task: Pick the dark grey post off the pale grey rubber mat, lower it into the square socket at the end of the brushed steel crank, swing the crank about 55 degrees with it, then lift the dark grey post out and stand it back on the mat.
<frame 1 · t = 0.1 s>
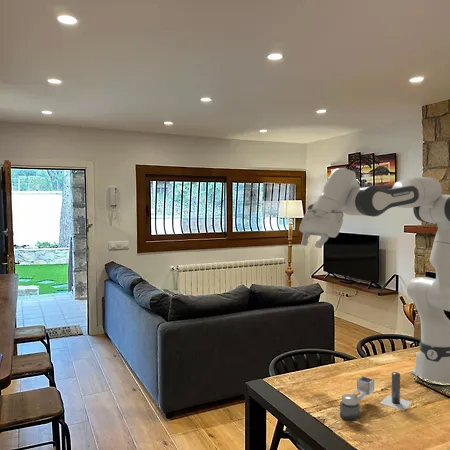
hand: (310, 246, 141), 54 cm above the table, tool tilted 30°, fingers open, 8 cm apart
dark grey post: (395, 402, 140), point 1 cm above the table, touching mat
crank: (357, 391, 137), point 6 cm above the table, hinge at 0.0°
mat: (395, 404, 140), on the table
crank post: (349, 416, 132), on the table
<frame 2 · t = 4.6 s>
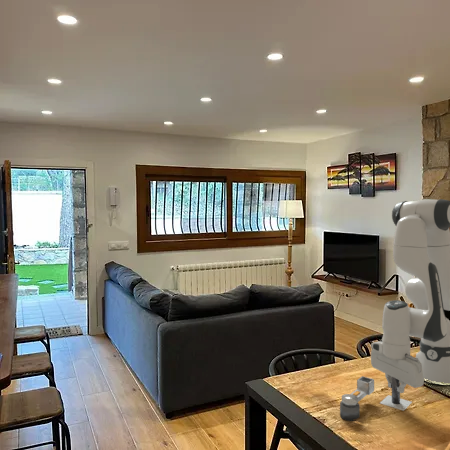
hand: (395, 389, 140), 5 cm above the table, tool pointing down, fingers closed on dark grey post, 3 cm apart
dark grey post: (395, 402, 140), point 1 cm above the table, touching gripper, mat
everything else where it was.
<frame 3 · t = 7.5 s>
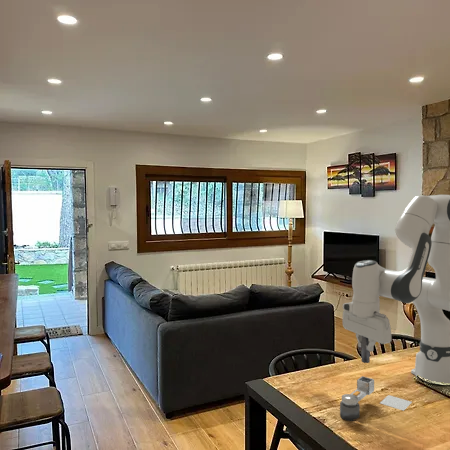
hand: (365, 348, 141), 19 cm above the table, tool pointing down, fingers closed on dark grey post, 3 cm apart
dark grey post: (365, 361, 141), point 14 cm above the table, touching gripper
everything else where it was.
when the fingers open (10 cm above the table, at t = 10.4 s): dark grey post moves 3 cm, resting on crank.
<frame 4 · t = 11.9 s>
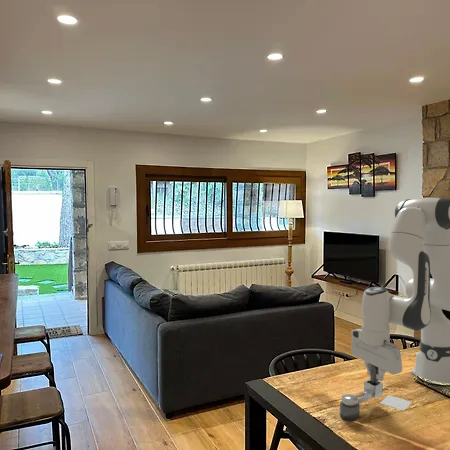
hand: (375, 377, 138), 10 cm above the table, tool pointing down, fingers open, 3 cm apart
dark grey post: (373, 390, 138), point 6 cm above the table, touching crank, gripper
crank: (361, 392, 135), point 6 cm above the table, hinge at 13.8°, touching dark grey post
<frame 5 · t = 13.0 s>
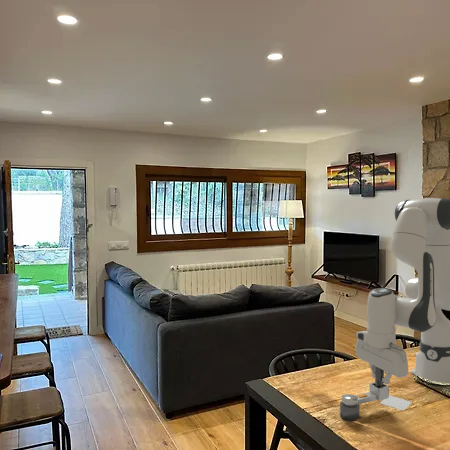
hand: (380, 380, 136), 10 cm above the table, tool pointing down, fingers open, 3 cm apart
dark grey post: (378, 392, 136), point 6 cm above the table, tilted 6°, touching crank, gripper
crank: (364, 394, 134), point 6 cm above the table, hinge at 25.2°, touching dark grey post
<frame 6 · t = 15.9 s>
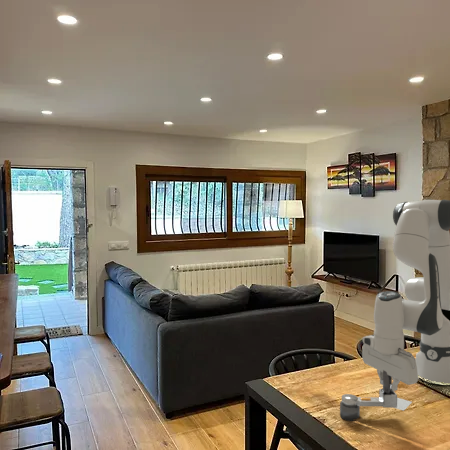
hand: (388, 387, 131), 10 cm above the table, tool pointing down, fingers closed on dark grey post, 3 cm apart
dark grey post: (386, 399, 131), point 6 cm above the table, tilted 6°, touching crank, gripper
crank: (368, 397, 132), point 6 cm above the table, hinge at 51.2°, touching dark grey post
when the fingers open (6 cm above the table, at t = 22.8 s): dark grey post stays where it is, resting on mat.
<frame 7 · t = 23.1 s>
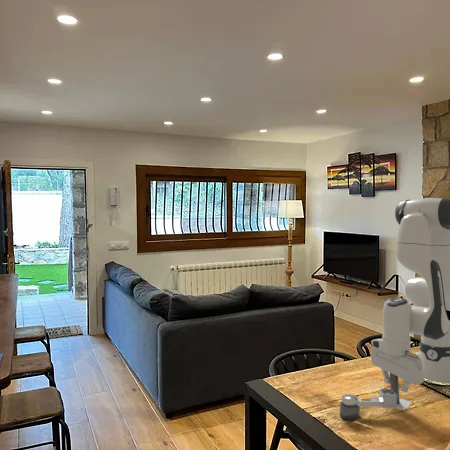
hand: (395, 386, 140), 6 cm above the table, tool pointing down, fingers open, 6 cm apart
dark grey post: (395, 402, 140), point 1 cm above the table, touching mat
crank: (368, 397, 132), point 6 cm above the table, hinge at 51.3°
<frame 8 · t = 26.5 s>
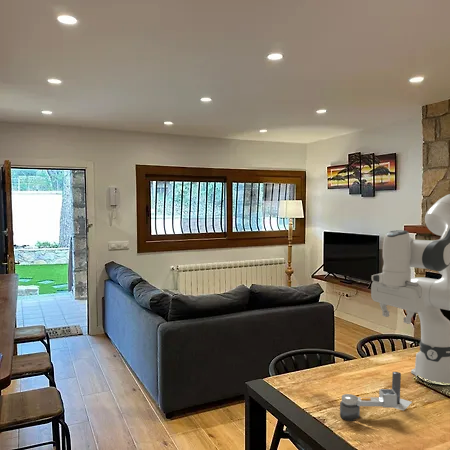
hand: (396, 319, 139), 29 cm above the table, tool pointing down, fingers open, 8 cm apart
at the end: crank at +51° (first picture: +0°); dark grey post 0.1 cm off-centre on the mat, point 0.6 cm above the mat's base; dark grey post tilted 2° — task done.
